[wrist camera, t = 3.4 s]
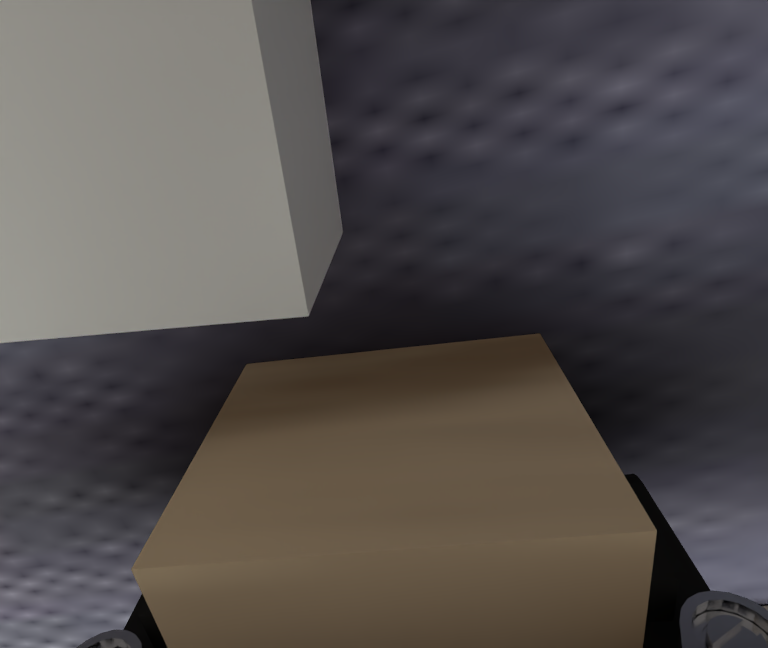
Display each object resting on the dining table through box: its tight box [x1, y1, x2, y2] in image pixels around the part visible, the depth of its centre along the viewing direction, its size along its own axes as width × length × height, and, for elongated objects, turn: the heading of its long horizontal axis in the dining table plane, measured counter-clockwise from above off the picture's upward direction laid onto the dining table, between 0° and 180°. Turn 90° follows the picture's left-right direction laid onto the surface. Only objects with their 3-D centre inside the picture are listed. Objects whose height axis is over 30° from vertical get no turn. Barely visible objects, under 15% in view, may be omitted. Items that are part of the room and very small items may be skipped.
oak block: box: [131, 334, 657, 648], centre depth 9 cm, size 6×6×5 cm
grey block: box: [0, 0, 343, 343], centre depth 7 cm, size 5×5×4 cm
